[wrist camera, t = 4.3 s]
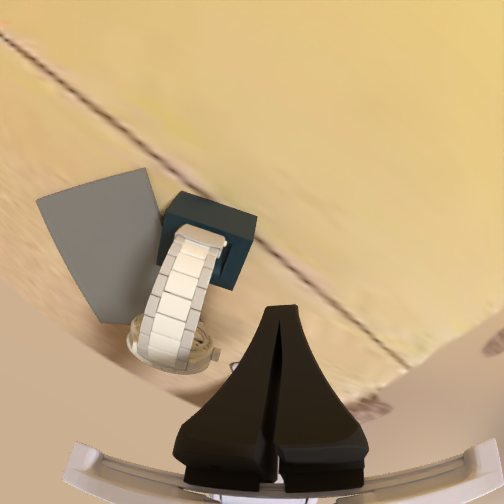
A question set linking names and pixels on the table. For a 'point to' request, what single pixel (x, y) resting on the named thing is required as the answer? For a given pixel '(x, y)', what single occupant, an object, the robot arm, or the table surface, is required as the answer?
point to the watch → (190, 282)
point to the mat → (108, 241)
